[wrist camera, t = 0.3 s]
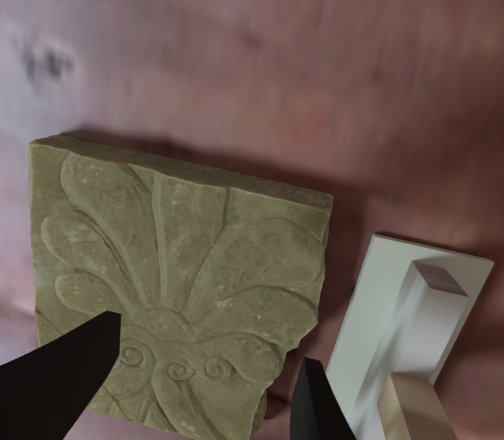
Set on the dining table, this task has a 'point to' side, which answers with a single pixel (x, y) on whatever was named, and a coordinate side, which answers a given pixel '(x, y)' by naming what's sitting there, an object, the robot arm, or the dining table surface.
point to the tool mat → (381, 303)
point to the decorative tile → (176, 278)
